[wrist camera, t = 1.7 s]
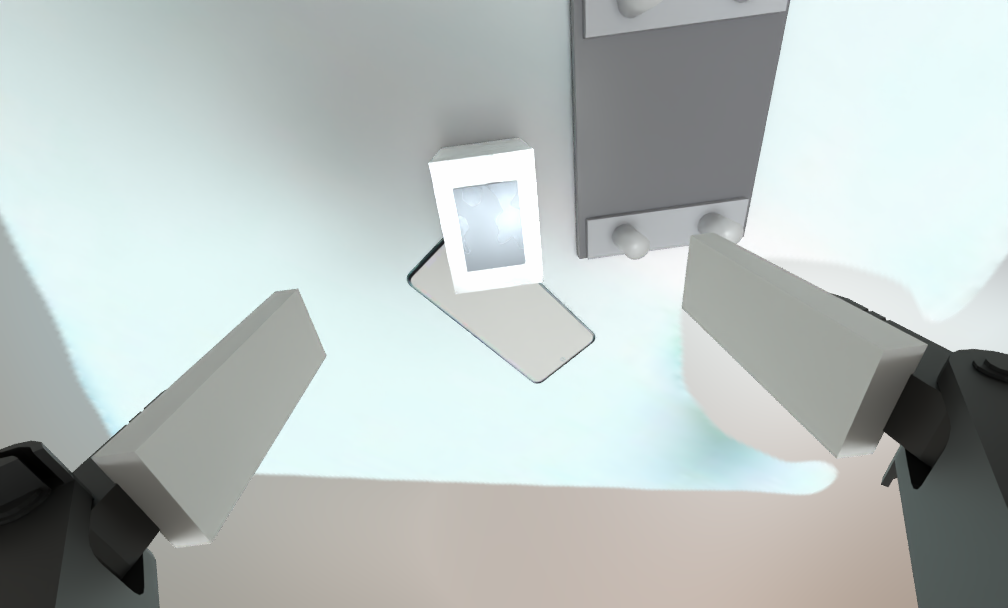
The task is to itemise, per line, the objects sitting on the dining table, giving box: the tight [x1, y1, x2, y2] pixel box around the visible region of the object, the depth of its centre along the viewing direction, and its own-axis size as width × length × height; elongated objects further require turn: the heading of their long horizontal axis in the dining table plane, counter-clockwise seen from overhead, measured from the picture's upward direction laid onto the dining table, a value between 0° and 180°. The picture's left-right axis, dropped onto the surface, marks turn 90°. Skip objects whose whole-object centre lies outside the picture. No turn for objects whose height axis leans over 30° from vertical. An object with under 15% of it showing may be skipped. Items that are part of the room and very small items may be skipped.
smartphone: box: [407, 238, 595, 383], centre depth 30 cm, size 7×1×15 cm
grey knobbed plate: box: [570, 0, 790, 260], centre depth 22 cm, size 16×12×4 cm
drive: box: [429, 137, 543, 294], centre depth 22 cm, size 7×5×7 cm
